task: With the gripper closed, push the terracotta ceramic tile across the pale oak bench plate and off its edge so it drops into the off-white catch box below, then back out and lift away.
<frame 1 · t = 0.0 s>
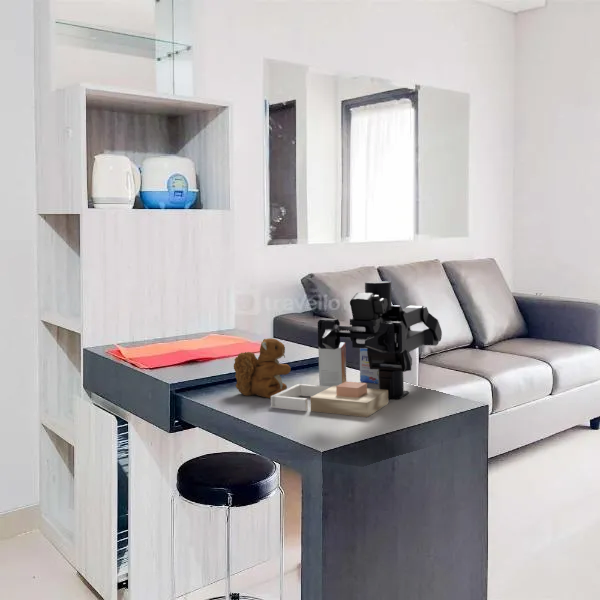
hand: (343, 341, 143), 17 cm above the table, tool horizontal, fingers open, 9 cm apart
tile: (351, 393, 157), point 3 cm above the table, touching bench plate
stuffed squirrel: (262, 394, 172), on the table
medicine box: (377, 382, 181), on the table
small box: (333, 388, 177), on the table
bench plate: (350, 407, 157), on the table
catch box: (304, 402, 162), on the table
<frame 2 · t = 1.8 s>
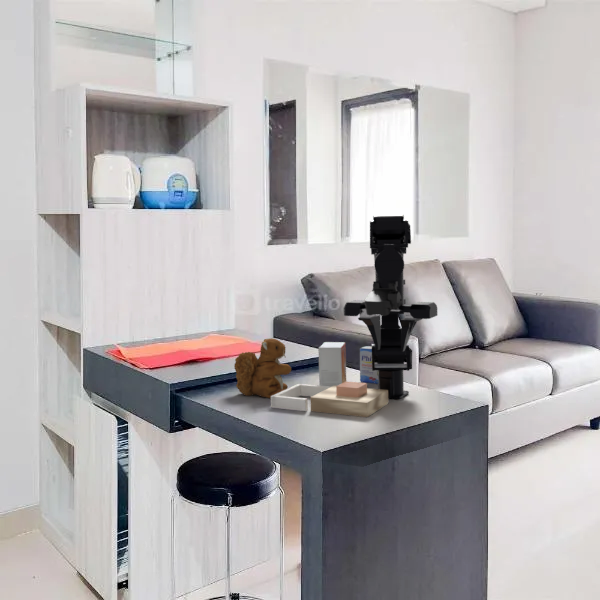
hand: (390, 350, 151), 13 cm above the table, tool pointing down, fingers open, 5 cm apart
nothing on the table moved.
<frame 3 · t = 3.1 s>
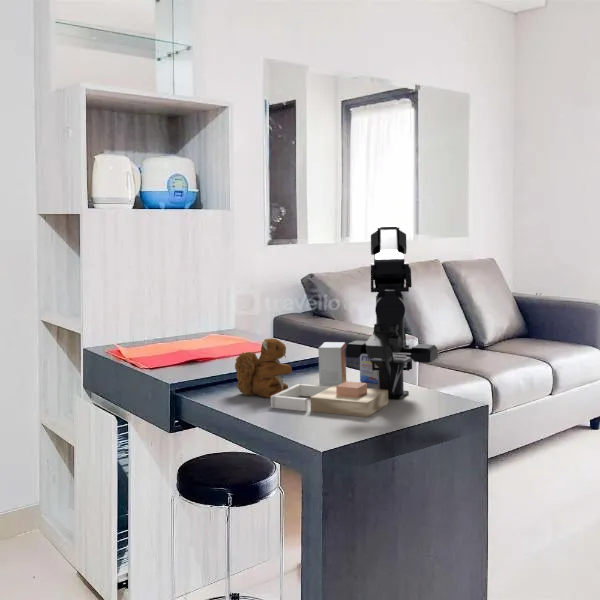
hand: (391, 391, 153), 4 cm above the table, tool pointing down, fingers closed
nothing on the table moved.
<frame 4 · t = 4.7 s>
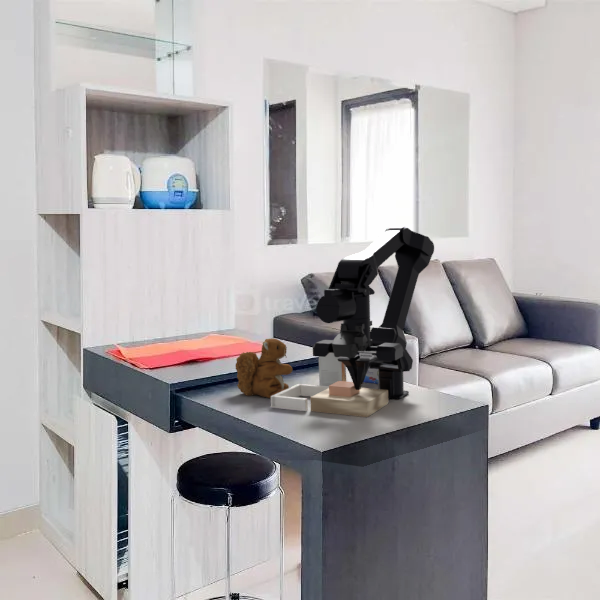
hand: (358, 389, 156), 4 cm above the table, tool pointing down, fingers closed
tile: (344, 393, 158), point 3 cm above the table, touching bench plate, gripper
everything else where it was.
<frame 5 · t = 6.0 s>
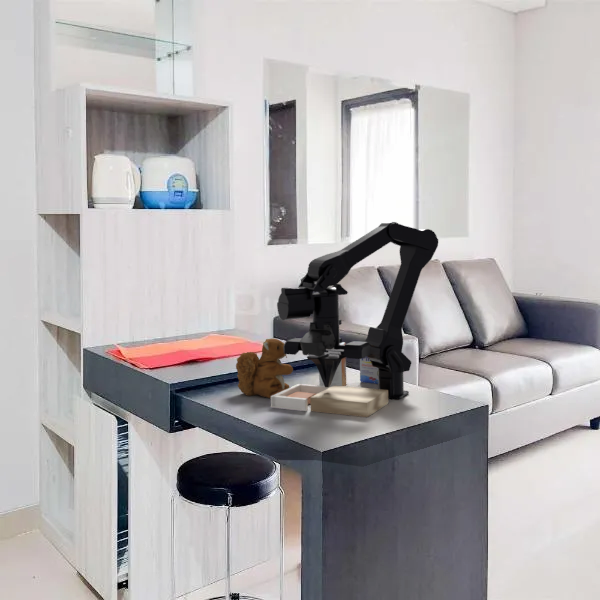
hand: (327, 387, 159), 4 cm above the table, tool pointing down, fingers closed
tile: (301, 394, 163), point 2 cm above the table, tilted 180°
everything else where it was.
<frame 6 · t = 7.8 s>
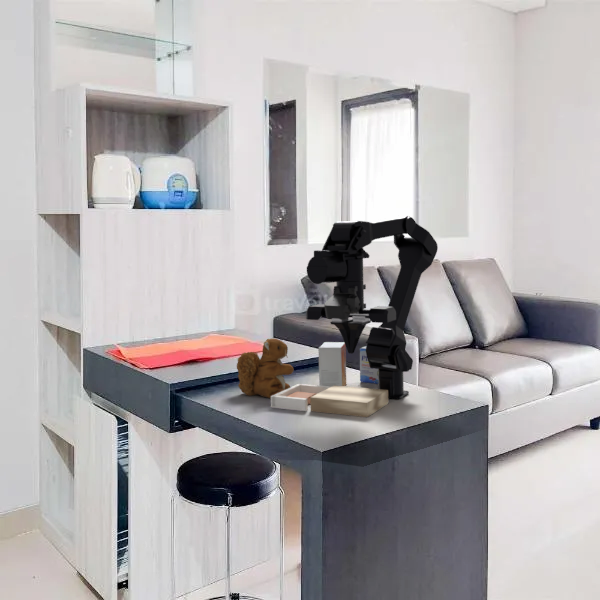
hand: (351, 353, 156), 12 cm above the table, tool pointing down, fingers closed
nothing on the table moved.
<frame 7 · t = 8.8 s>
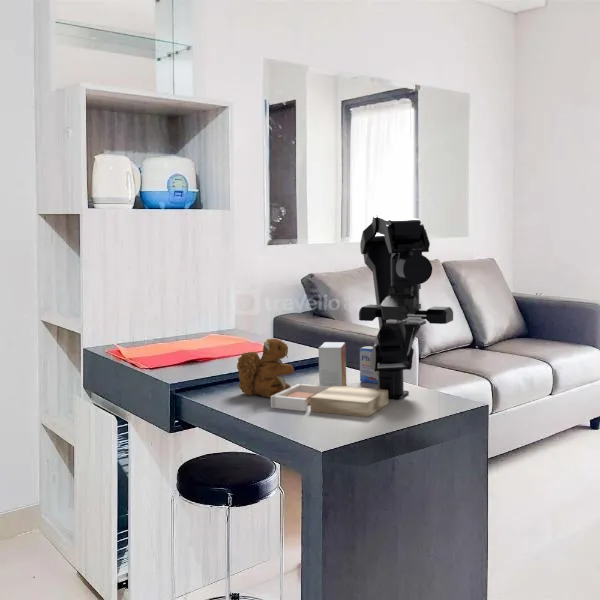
hand: (405, 355, 151), 12 cm above the table, tool pointing down, fingers closed
nothing on the table moved.
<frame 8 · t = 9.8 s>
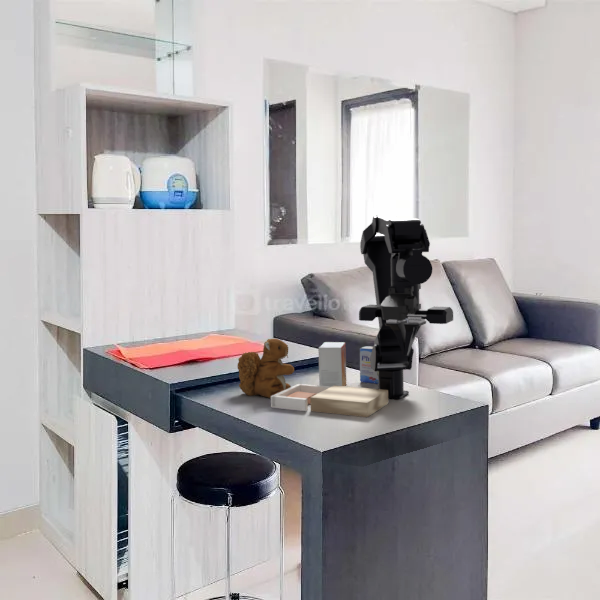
hand: (405, 355, 151), 12 cm above the table, tool pointing down, fingers closed
nothing on the table moved.
at the end: tile inside the target area (0.9 cm from its centre), point 1.6 cm above the table; tile moved 12.7 cm from its start; the gripper is holding nothing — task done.
